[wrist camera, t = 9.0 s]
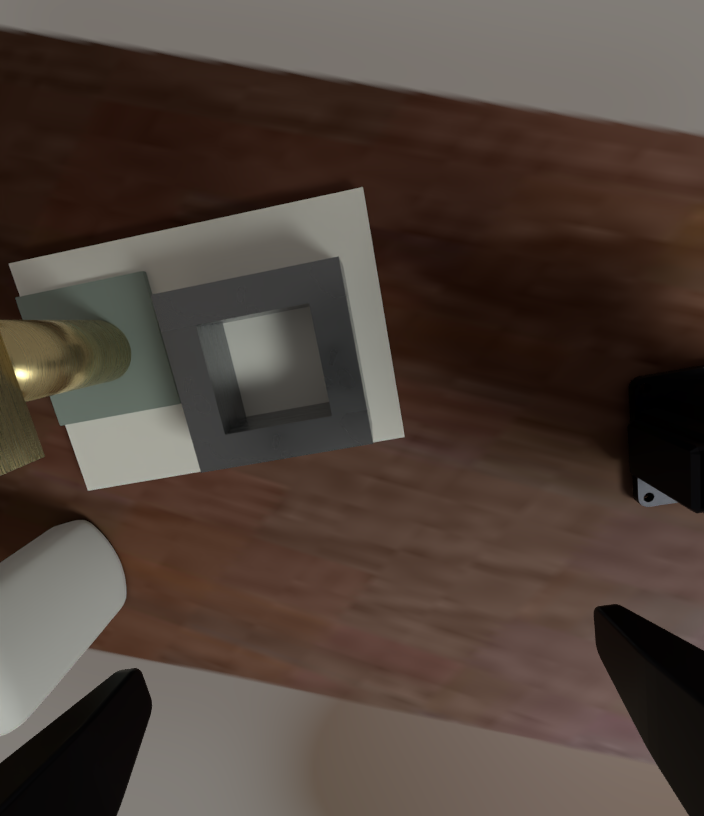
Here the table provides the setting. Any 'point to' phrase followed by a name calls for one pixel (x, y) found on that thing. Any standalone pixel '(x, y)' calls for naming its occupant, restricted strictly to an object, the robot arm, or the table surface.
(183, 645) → the table surface
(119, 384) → the mat
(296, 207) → the board
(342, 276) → the grey square frame
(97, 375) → the tan flat lever
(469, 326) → the table surface
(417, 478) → the table surface
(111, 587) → the eye dropper bottle
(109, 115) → the table surface
